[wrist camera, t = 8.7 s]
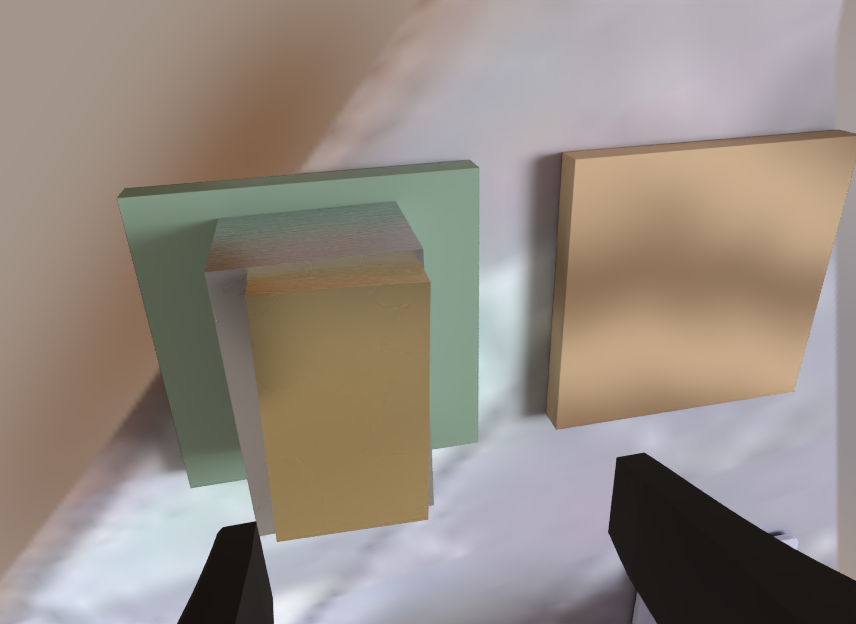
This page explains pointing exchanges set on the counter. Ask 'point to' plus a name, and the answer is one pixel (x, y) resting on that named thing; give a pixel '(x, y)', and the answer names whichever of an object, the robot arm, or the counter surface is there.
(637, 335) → the stand
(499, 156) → the counter surface
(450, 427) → the stand
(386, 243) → the base
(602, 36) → the counter surface
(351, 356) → the cover
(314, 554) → the counter surface
